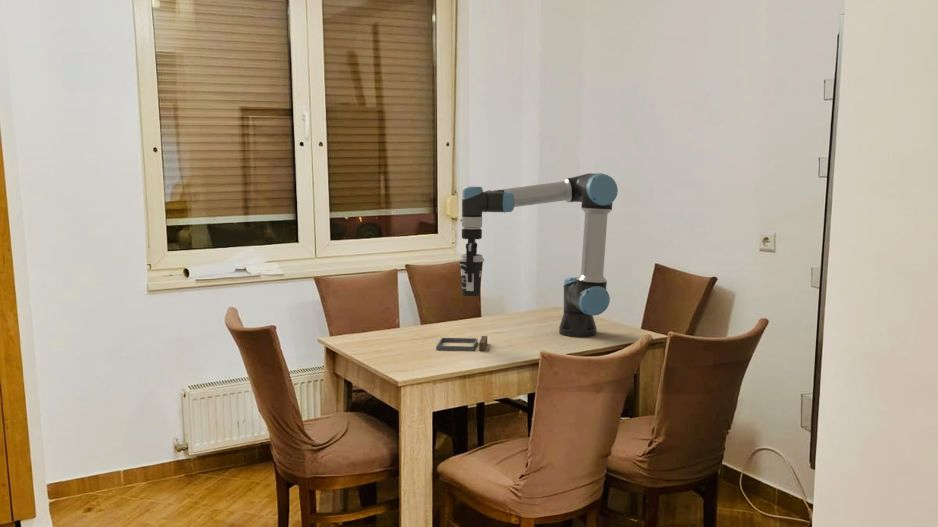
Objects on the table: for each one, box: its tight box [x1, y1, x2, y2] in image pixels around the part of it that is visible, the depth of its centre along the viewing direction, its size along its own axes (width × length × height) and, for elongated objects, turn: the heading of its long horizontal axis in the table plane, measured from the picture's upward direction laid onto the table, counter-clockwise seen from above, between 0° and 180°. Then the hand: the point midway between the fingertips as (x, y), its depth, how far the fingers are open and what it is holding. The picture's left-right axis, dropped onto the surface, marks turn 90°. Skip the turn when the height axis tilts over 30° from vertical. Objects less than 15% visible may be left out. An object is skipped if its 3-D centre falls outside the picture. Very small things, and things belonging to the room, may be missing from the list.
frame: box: [435, 337, 479, 352], centre depth 295 cm, size 14×14×2 cm
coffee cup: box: [458, 253, 485, 297], centre depth 291 cm, size 10×10×15 cm
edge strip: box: [478, 335, 488, 352], centre depth 293 cm, size 2×12×3 cm, turn 173°
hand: (470, 289), depth 292 cm, fingers closed on coffee cup, 7 cm apart
